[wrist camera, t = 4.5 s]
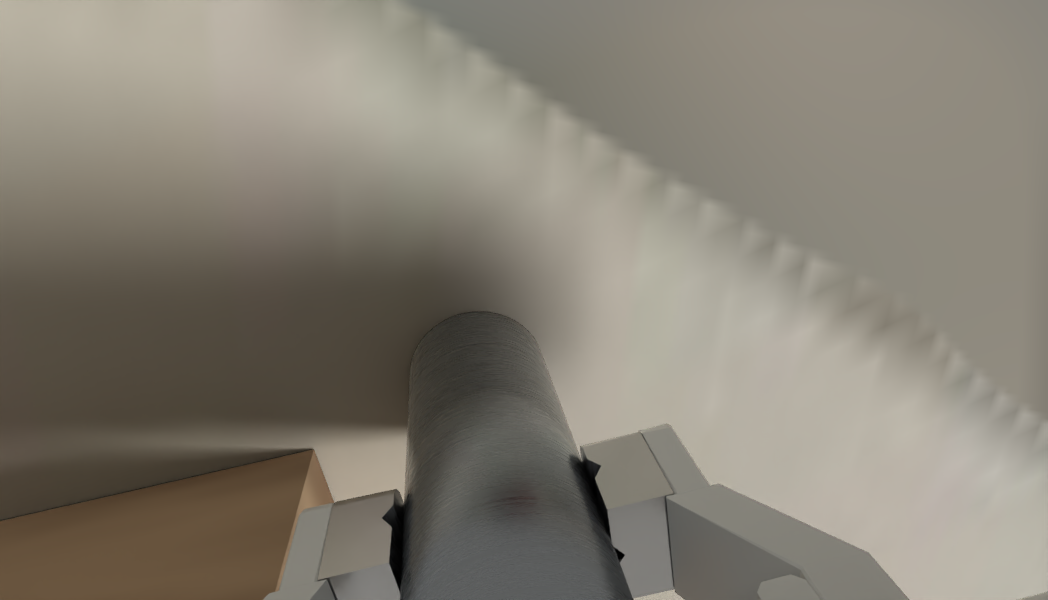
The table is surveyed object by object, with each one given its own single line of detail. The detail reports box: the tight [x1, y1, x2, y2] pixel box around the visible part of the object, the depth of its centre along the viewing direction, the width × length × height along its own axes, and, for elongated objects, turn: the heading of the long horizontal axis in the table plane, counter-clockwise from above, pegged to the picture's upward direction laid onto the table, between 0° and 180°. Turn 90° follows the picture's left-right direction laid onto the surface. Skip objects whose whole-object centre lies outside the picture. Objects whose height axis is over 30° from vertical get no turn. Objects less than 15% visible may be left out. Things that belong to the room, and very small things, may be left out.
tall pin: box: [400, 312, 633, 600], centre depth 10 cm, size 3×3×9 cm
